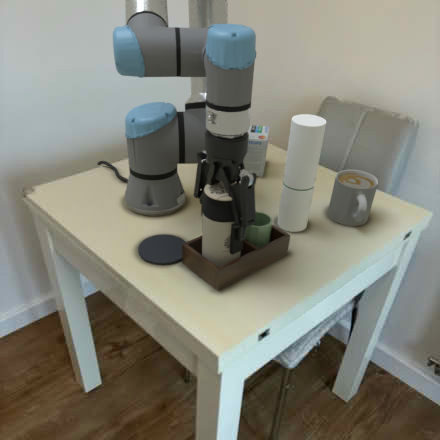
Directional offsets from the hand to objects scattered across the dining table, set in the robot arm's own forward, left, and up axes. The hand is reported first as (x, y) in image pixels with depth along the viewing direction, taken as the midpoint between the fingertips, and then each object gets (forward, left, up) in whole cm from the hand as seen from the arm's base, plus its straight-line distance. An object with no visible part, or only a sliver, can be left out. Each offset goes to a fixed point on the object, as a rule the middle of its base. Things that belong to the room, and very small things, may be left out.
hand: (221, 241), depth 92 cm
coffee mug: (+5, +38, -6) cm, 39 cm away
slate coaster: (-12, -6, -6) cm, 15 cm away
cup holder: (0, +4, -6) cm, 8 cm away
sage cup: (0, +10, -6) cm, 12 cm away
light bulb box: (-30, +39, -6) cm, 50 cm away
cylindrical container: (-2, +25, -6) cm, 26 cm away
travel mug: (0, 0, -6) cm, 6 cm away
